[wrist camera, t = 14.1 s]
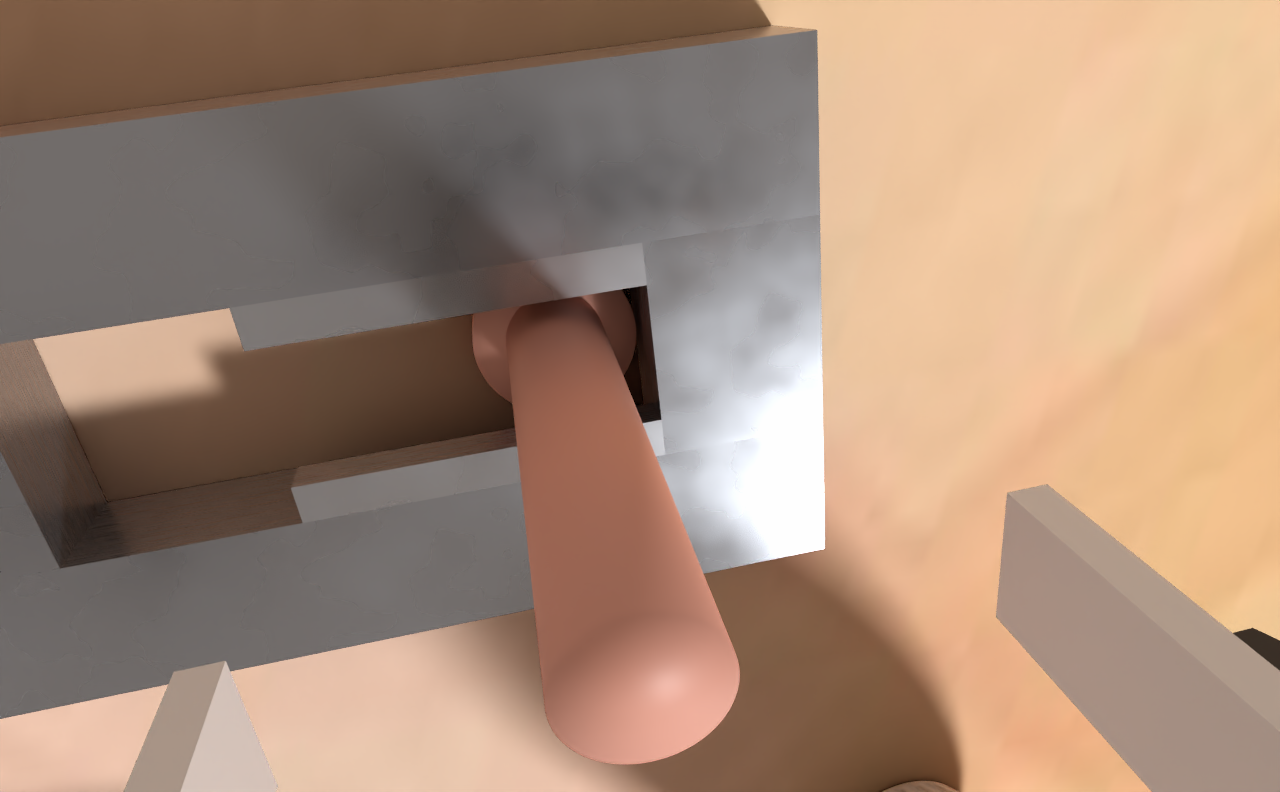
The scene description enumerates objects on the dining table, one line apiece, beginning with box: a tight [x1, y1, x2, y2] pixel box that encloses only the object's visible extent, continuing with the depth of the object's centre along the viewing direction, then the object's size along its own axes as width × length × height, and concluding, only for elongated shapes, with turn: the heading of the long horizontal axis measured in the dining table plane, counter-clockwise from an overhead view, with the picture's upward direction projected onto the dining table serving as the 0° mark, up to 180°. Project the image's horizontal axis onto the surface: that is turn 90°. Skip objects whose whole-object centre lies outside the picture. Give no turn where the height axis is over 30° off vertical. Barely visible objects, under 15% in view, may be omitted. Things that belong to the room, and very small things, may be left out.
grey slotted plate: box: [0, 25, 825, 719], centre depth 25 cm, size 26×16×4 cm, turn 96°
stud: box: [472, 289, 740, 764], centre depth 20 cm, size 5×5×16 cm
